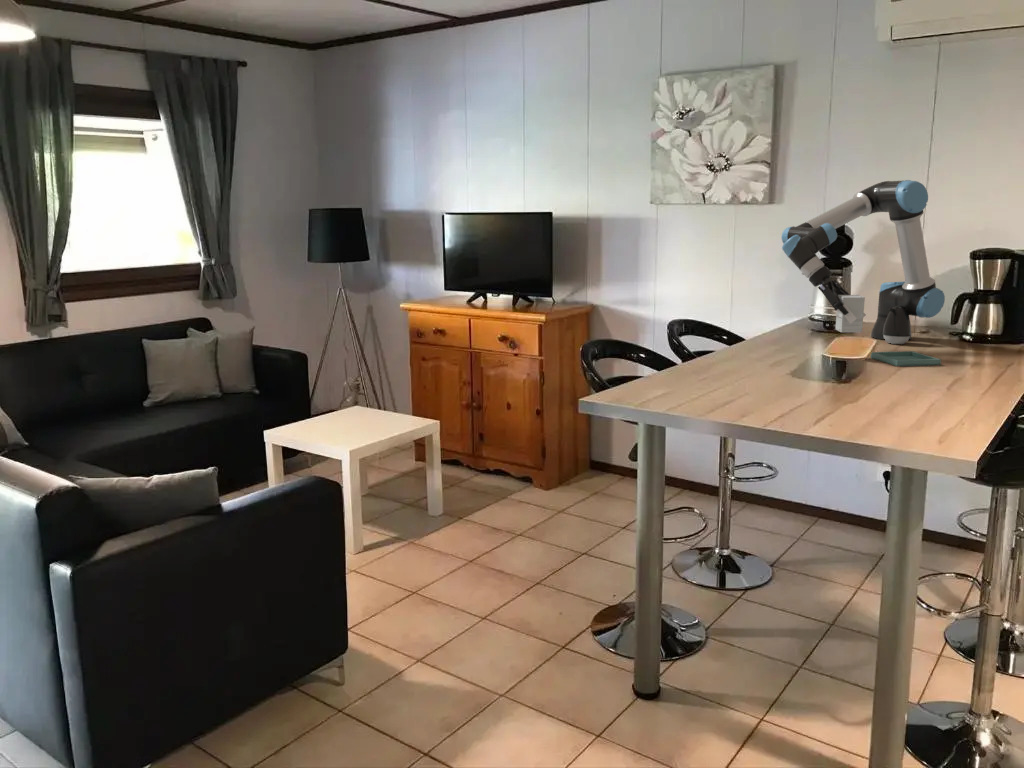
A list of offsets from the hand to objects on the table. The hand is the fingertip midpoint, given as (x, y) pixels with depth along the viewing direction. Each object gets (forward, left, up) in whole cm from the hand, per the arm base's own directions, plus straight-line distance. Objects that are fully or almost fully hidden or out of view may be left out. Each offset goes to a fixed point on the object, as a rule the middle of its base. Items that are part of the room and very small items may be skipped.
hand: (858, 319), depth 294 cm
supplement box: (-2, -2, -5) cm, 6 cm away
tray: (+8, +14, -14) cm, 21 cm away
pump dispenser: (-28, +33, -14) cm, 46 cm away
